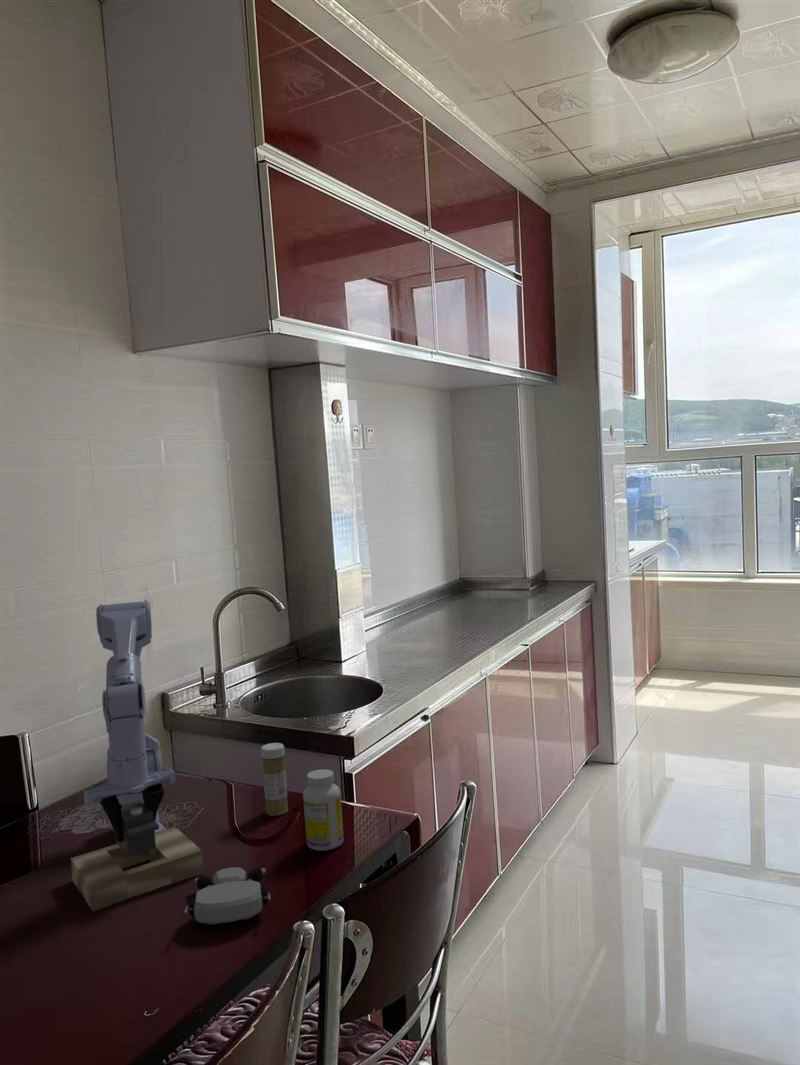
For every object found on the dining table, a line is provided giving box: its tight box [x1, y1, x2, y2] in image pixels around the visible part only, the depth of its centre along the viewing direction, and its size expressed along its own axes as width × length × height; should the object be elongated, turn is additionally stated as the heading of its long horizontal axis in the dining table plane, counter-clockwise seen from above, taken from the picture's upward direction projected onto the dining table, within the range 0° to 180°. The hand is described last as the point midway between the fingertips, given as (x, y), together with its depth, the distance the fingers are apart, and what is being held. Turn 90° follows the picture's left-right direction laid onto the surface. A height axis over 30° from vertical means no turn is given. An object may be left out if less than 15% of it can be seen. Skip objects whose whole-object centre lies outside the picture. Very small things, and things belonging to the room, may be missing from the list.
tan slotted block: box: [70, 826, 204, 912], centre depth 132 cm, size 13×18×4 cm
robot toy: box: [184, 866, 271, 926], centre depth 121 cm, size 12×4×15 cm
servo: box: [115, 801, 159, 856], centre depth 132 cm, size 12×4×7 cm, turn 36°
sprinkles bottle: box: [260, 742, 289, 817], centre depth 156 cm, size 5×5×14 cm
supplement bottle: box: [302, 768, 344, 852], centre depth 141 cm, size 7×7×13 cm
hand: (134, 835), depth 132 cm, fingers closed on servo, 4 cm apart
